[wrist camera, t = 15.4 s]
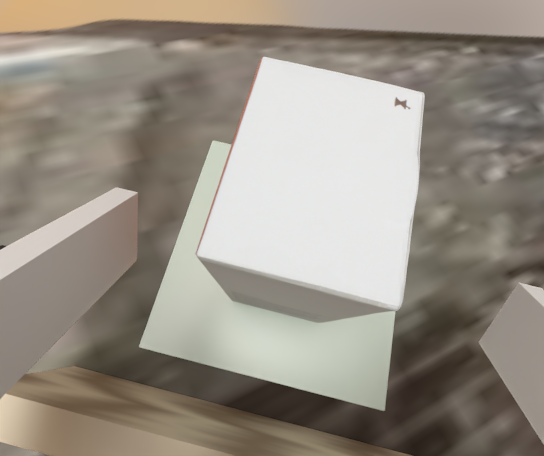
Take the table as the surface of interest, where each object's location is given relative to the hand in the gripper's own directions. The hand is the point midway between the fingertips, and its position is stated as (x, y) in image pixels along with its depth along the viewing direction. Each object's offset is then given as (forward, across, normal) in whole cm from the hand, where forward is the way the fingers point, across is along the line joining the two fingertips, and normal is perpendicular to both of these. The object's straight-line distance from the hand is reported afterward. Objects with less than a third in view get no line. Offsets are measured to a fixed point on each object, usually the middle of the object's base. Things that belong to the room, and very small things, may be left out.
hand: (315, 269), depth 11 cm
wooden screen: (+3, 0, -14) cm, 15 cm away
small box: (+10, 0, -6) cm, 12 cm away
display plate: (+11, 0, -6) cm, 13 cm away
